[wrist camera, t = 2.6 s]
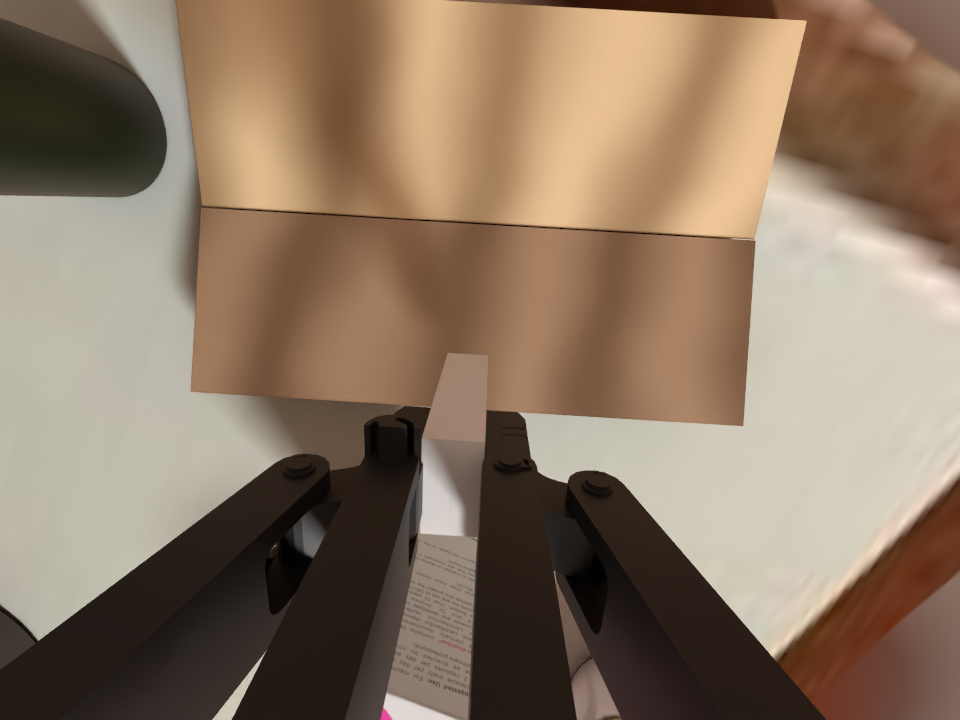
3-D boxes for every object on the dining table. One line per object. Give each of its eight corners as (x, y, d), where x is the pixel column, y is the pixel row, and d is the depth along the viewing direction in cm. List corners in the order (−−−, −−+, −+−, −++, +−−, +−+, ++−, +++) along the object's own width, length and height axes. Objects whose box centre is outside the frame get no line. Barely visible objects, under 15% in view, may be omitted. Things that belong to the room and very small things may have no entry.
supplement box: (399, 478, 26) (334, 673, 15) (494, 517, 27) (496, 729, 16) (364, 553, 28) (283, 776, 17) (454, 587, 29) (431, 822, 18)
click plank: (734, 249, 22) (755, 240, 20) (723, 420, 22) (743, 426, 20) (221, 218, 22) (200, 207, 20) (212, 389, 22) (190, 391, 20)
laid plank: (222, 206, 22) (202, 206, 20) (198, 2, 19) (173, -16, 18) (735, 236, 22) (754, 239, 20) (781, 35, 19) (806, 20, 17)
